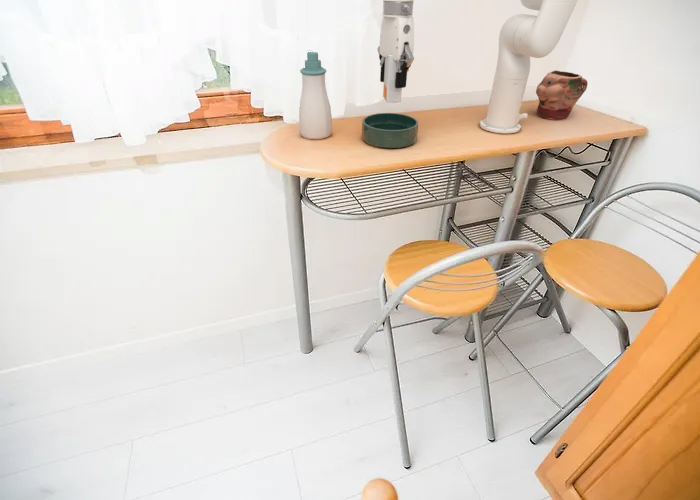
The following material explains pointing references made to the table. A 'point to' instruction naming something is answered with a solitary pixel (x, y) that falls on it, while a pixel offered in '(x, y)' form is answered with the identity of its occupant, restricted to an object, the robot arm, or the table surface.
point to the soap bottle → (314, 101)
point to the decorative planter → (559, 94)
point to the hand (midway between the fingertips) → (392, 83)
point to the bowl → (389, 130)
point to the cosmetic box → (391, 81)
